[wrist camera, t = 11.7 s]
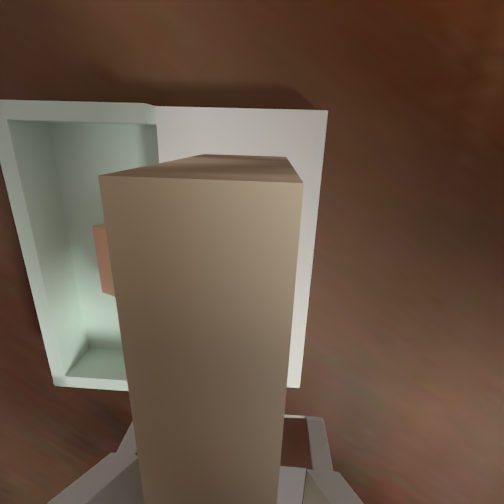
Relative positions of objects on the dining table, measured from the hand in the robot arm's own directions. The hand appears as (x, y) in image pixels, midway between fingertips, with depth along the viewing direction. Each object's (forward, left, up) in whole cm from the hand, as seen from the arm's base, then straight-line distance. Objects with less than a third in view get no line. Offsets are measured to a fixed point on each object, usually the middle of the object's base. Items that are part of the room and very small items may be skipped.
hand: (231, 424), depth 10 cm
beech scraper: (0, 0, -3) cm, 3 cm away
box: (+11, 0, -15) cm, 18 cm away
